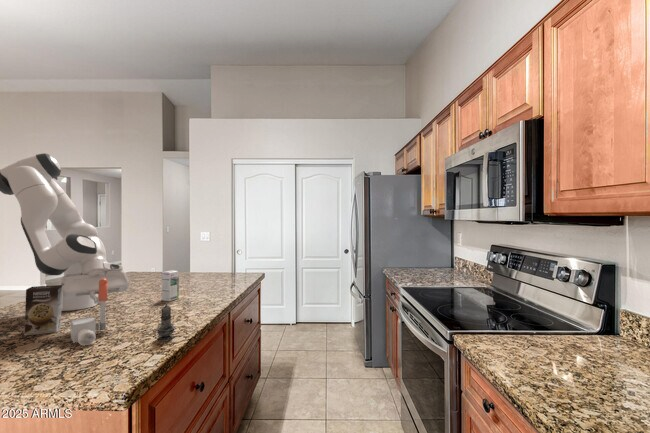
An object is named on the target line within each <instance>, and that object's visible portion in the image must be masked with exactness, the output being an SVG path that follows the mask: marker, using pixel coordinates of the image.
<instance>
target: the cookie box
mask: <svg viewBox="0 0 650 433" xmlns="http://www.w3.org/2000/svg"><path fill="white" fill-rule="evenodd" d="M61 303H62V285H61V284H56V285H55V284H54V285H40V286H38V285H37V286H31V287H28V288H27V289H26V290H25V310H24V315H25V316H24V334H23V335H24V336H30V335H31V336H32V335H40V334H41V335H42V334H50V333H57V332H58V331H59V330H60V329H61V327H62V322H61V321H62V311H61Z"/></svg>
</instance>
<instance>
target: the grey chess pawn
mask: <svg viewBox="0 0 650 433" xmlns="http://www.w3.org/2000/svg"><path fill="white" fill-rule="evenodd" d="M171 310H172V308H171V306H168V303H165V306H163V307H162V308H161V316H160V317H159V318H160V319H161V320H160V326H158V327H157V328H156V331H157V335H158V337H157V339H156V340H157V342H167V341H172V340H173V339H175V336H174V335H172V334H173V333H174V331H175V329H176V326H175V325H172V317H173V315H171V314H172V311H171Z"/></svg>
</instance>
